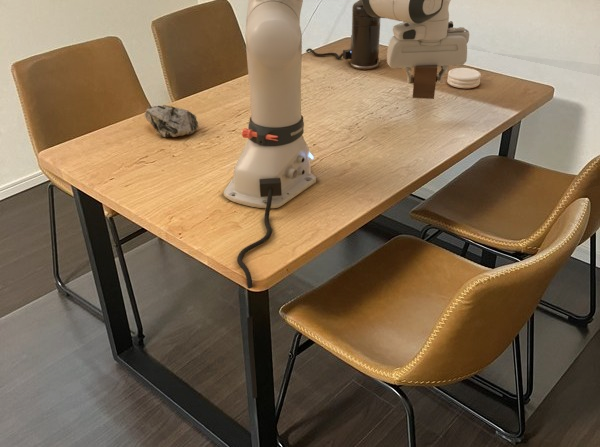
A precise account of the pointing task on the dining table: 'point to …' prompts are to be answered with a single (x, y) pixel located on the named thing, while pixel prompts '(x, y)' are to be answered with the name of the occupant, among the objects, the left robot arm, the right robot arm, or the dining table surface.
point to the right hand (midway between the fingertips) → (424, 58)
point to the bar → (424, 81)
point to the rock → (171, 120)
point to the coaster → (464, 78)
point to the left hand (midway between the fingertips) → (424, 82)
